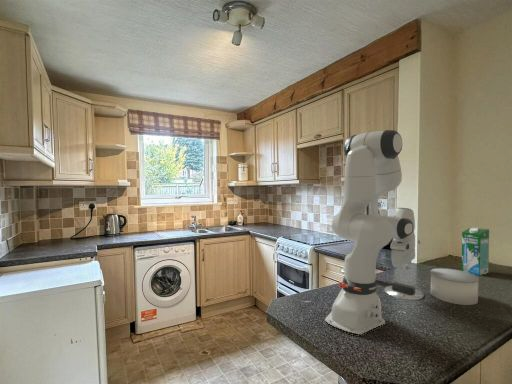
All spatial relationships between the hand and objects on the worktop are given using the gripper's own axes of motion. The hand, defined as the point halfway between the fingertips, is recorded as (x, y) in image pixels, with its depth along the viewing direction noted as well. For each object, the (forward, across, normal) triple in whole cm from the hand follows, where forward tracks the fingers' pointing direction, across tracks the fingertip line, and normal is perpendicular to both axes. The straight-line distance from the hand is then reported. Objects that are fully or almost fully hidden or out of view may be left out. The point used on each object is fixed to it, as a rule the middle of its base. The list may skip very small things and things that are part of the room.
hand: (404, 272), depth 126 cm
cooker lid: (+10, +1, 0) cm, 10 cm away
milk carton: (+11, -60, +18) cm, 64 cm away
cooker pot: (+10, -10, +17) cm, 22 cm away
